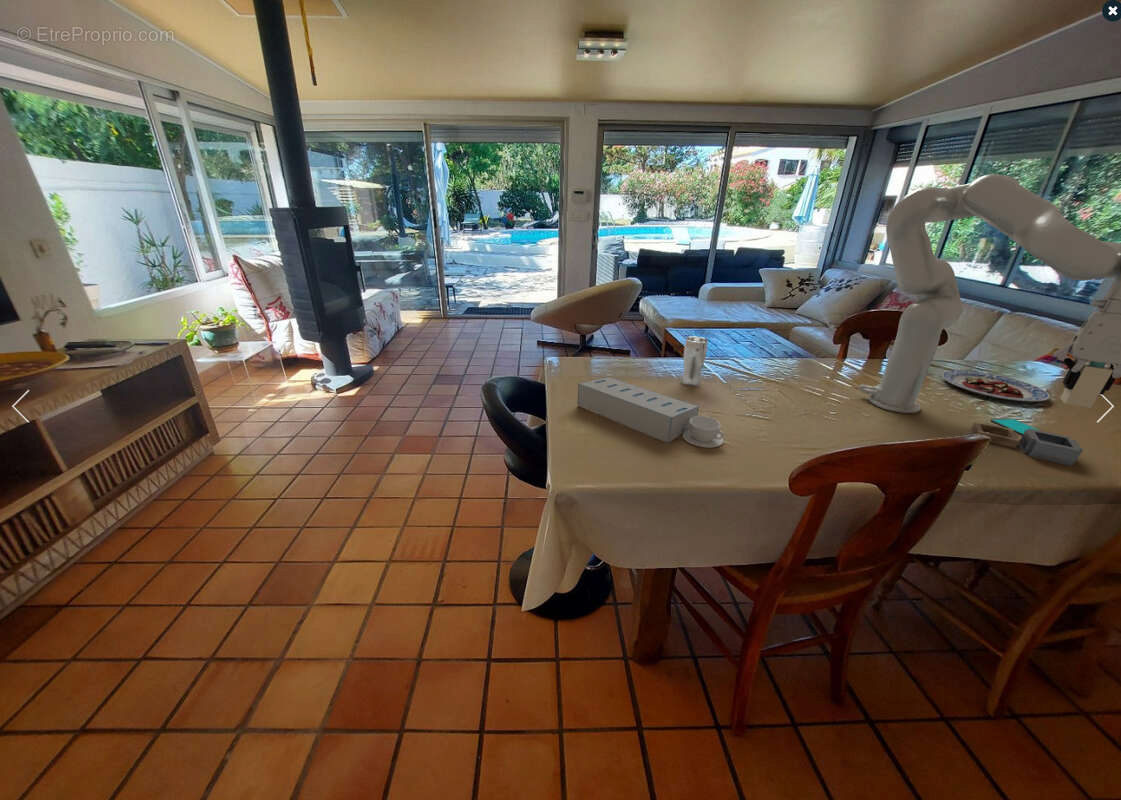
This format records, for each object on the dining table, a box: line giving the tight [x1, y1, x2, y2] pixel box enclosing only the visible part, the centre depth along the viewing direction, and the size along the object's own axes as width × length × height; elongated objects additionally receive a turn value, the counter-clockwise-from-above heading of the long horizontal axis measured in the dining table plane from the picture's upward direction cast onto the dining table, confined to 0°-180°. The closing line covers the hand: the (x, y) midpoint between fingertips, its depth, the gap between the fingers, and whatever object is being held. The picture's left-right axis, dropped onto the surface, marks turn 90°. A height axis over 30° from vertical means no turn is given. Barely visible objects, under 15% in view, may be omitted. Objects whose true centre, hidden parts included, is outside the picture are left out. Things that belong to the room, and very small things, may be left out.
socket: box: [1018, 428, 1084, 467], centre depth 101 cm, size 8×8×4 cm
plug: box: [1059, 361, 1113, 409], centre depth 94 cm, size 4×4×11 cm
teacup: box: [681, 415, 725, 449], centre depth 105 cm, size 10×10×5 cm
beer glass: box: [680, 336, 709, 387], centre depth 137 cm, size 7×7×15 cm
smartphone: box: [990, 418, 1042, 437], centre depth 111 cm, size 7×1×15 cm
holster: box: [971, 420, 1020, 449], centre depth 108 cm, size 8×8×2 cm
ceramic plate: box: [941, 369, 1051, 402], centre depth 138 cm, size 26×26×3 cm
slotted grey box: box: [577, 376, 700, 444], centre depth 117 cm, size 30×14×8 cm, turn 46°
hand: (1083, 389), depth 95 cm, fingers closed on plug, 4 cm apart
